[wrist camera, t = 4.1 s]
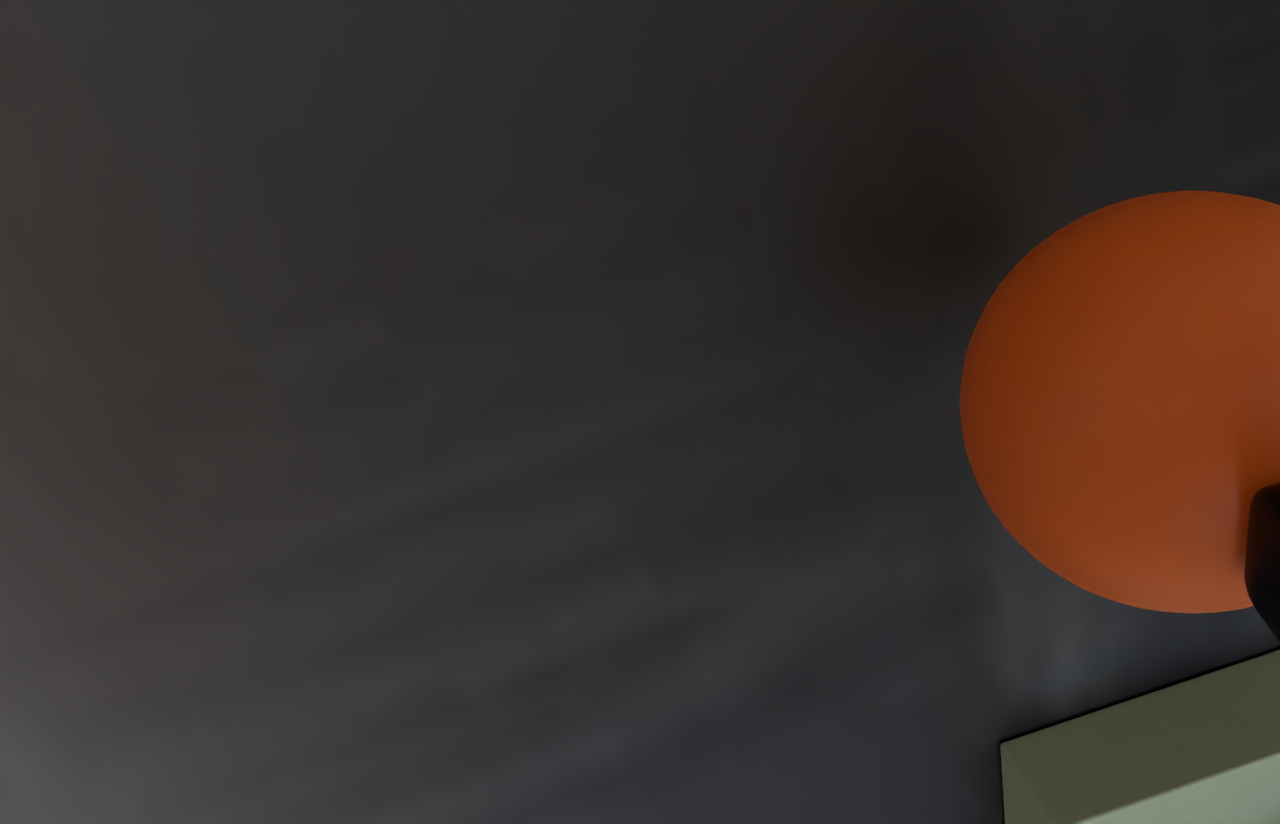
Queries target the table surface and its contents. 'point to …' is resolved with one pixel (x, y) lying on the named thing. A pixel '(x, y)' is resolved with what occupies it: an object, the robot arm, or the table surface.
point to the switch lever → (1134, 397)
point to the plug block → (1158, 757)
